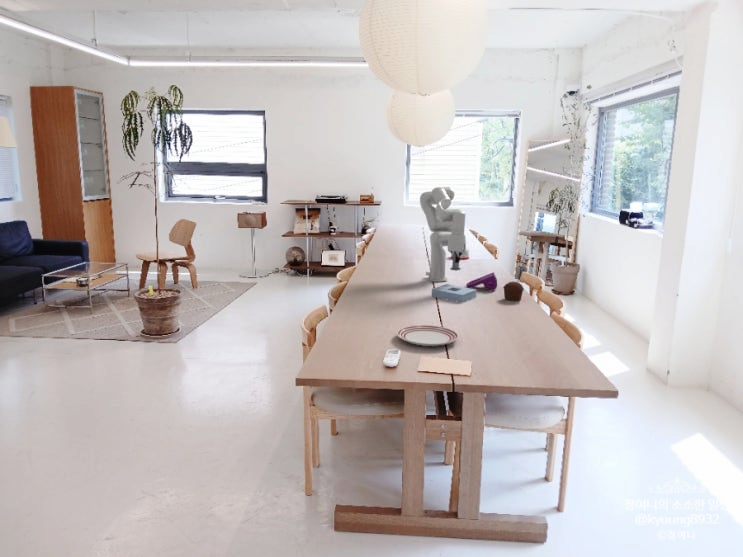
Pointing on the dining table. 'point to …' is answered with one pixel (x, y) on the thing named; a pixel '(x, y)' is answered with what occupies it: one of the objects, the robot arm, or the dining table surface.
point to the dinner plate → (427, 335)
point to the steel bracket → (455, 265)
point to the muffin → (513, 291)
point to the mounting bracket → (484, 282)
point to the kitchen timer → (463, 255)
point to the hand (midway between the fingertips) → (456, 262)
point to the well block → (454, 293)
